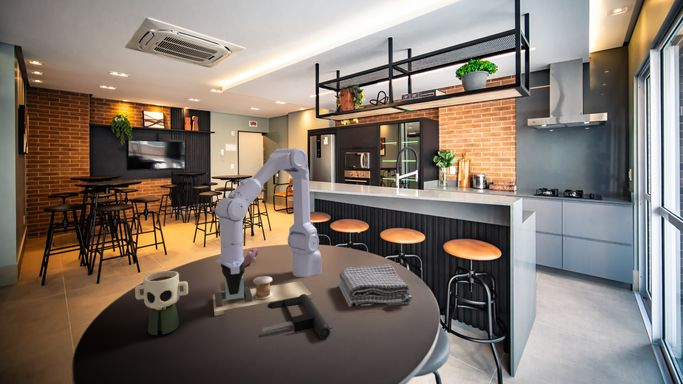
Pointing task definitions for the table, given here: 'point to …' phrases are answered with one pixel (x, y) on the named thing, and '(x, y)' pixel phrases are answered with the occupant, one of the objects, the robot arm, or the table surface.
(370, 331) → the table surface
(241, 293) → the pale blue block
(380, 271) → the towel
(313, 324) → the door handle
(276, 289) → the winding board
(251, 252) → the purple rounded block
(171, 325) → the character mug
